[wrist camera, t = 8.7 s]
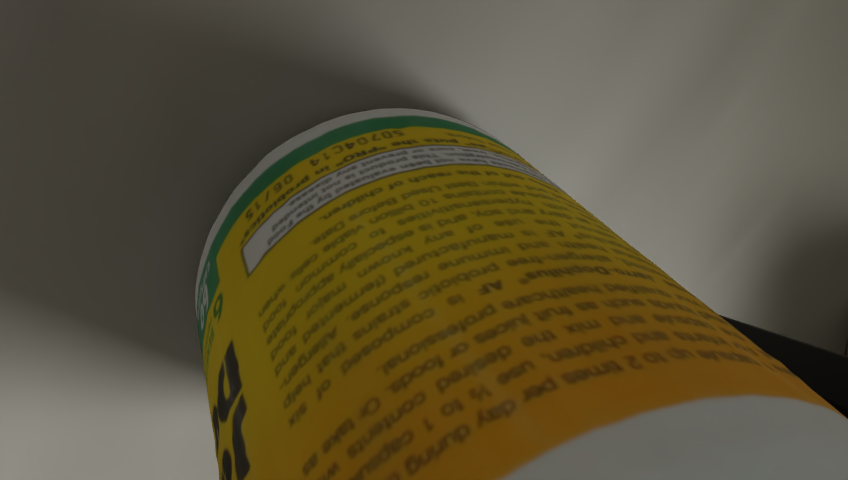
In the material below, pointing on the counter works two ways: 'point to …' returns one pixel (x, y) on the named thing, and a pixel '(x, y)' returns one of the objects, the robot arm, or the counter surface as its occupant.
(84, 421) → the counter surface
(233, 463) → the supplement bottle
